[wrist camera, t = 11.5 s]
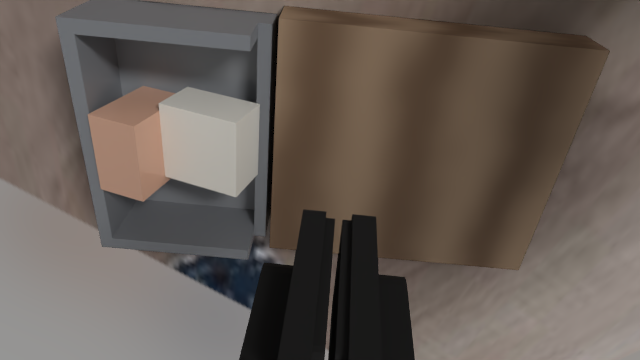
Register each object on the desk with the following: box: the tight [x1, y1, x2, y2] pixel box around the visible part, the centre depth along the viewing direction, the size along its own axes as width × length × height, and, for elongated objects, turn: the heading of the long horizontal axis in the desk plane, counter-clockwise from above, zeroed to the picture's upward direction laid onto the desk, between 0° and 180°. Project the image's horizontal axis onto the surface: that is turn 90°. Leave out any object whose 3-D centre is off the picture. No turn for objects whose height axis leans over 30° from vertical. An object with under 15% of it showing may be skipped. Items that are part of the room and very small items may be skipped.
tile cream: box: [158, 87, 260, 197], centre depth 29 cm, size 5×5×3 cm
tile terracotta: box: [88, 86, 176, 202], centre depth 29 cm, size 5×5×3 cm
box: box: [55, 0, 277, 260], centre depth 30 cm, size 11×15×5 cm
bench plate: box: [270, 6, 610, 270], centre depth 31 cm, size 18×16×3 cm
